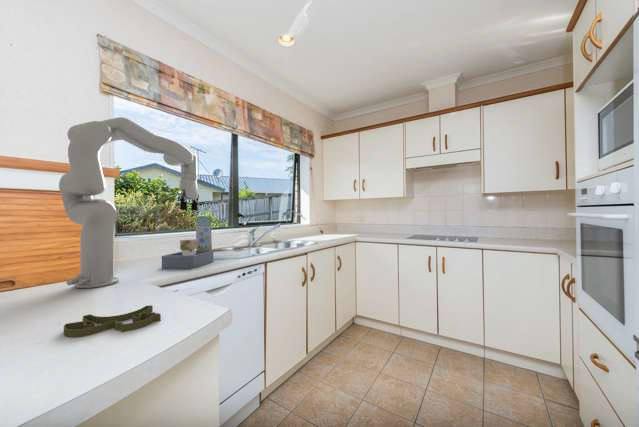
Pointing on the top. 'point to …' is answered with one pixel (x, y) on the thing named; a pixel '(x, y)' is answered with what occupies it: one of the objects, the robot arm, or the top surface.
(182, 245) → the kraft carton
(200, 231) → the snack box
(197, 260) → the tote
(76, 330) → the cookie cutter
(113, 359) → the top surface
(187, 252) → the steel tin
